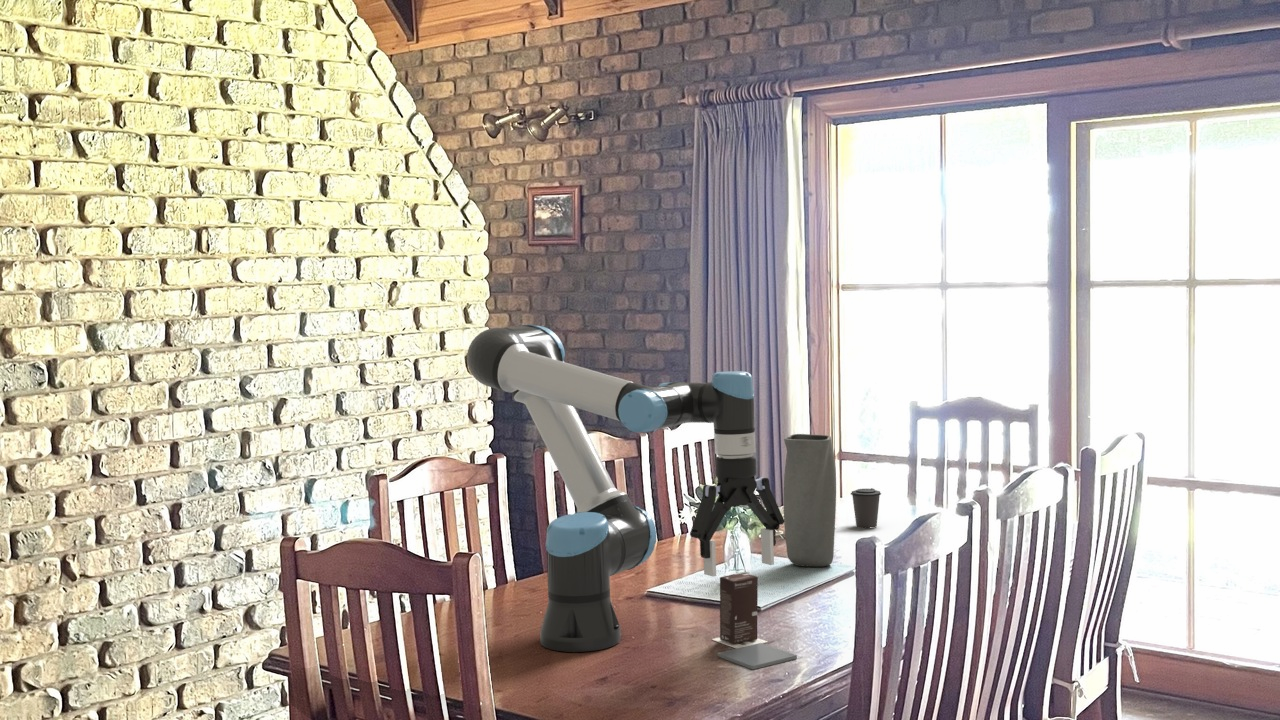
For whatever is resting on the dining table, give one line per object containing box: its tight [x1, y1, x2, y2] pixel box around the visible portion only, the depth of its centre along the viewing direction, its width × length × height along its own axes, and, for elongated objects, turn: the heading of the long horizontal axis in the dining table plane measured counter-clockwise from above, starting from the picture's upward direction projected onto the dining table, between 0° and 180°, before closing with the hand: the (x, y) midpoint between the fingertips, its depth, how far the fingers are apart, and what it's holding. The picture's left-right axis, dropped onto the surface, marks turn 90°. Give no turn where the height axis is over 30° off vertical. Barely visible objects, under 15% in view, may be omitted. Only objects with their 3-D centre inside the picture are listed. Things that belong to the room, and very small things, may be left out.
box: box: [719, 572, 759, 644], centre depth 239 cm, size 6×4×12 cm
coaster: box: [716, 643, 798, 670], centre depth 229 cm, size 10×10×1 cm
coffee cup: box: [850, 487, 882, 529], centre depth 343 cm, size 8×8×10 cm
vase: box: [782, 433, 837, 568], centre depth 300 cm, size 12×12×30 cm
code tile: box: [711, 636, 769, 649], centre depth 239 cm, size 7×8×1 cm
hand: (739, 569), depth 238 cm, fingers open, 13 cm apart
